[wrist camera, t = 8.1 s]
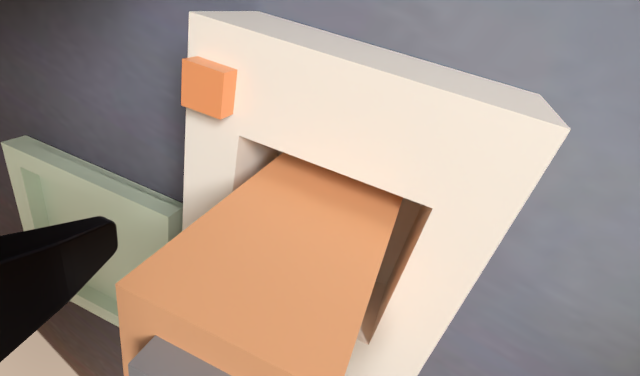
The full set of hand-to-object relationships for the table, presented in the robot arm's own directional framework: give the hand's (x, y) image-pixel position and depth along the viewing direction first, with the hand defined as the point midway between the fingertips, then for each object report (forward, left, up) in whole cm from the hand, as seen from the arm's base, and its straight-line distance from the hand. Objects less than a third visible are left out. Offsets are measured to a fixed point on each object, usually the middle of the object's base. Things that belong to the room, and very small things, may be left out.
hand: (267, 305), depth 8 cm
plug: (0, 0, -6) cm, 6 cm away
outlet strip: (-6, 0, -6) cm, 8 cm away
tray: (-9, +12, -6) cm, 16 cm away
